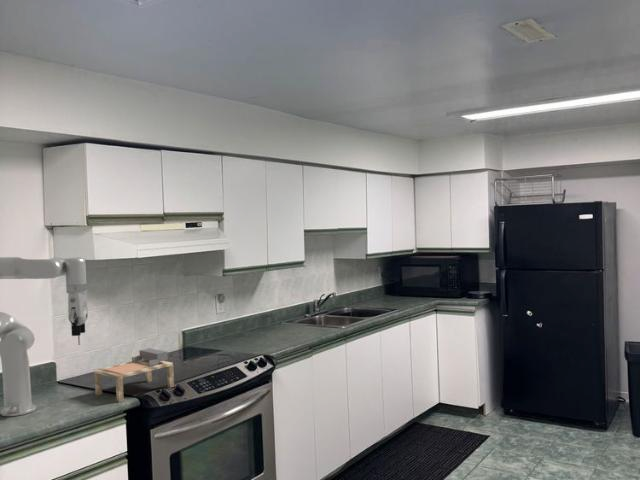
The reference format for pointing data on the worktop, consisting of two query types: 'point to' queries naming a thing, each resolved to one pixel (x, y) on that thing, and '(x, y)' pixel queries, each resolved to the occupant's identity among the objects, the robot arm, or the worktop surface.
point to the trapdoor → (144, 354)
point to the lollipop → (80, 322)
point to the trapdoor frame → (120, 377)
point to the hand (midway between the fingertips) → (78, 333)
